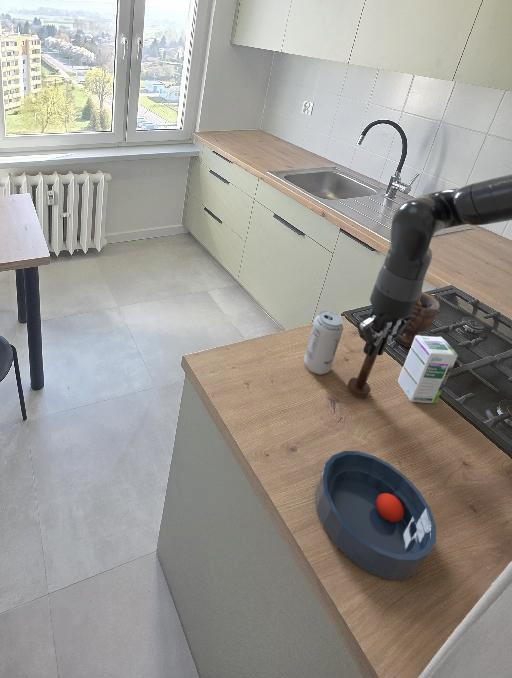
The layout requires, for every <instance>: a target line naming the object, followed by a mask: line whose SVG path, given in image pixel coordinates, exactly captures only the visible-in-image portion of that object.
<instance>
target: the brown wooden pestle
mask: <svg viewBox="0 0 512 678" xmlns="http://www.w3.org/2000/svg"><path fill="white" fill-rule="evenodd" d="M373 337H374V338H375V337H376V336H375V335H374V334H373ZM382 342H383V338H381V340H380V343H379V344H378V345H379V346H378V348H377V351H376V353H375V356H374V357H373V358H370V357H368V356H367V355H366V354H365V358H364V360H363V363H362V365H361V368H360V370H359V373H358V376H357V377H351V378H350V379H349V380H348V382H347V389H348V391H349V392H350V393H351V394H352V395H354V396H355V397H358V398H359V399H366V398H368V397H369V396H370V393H371V387H370V384H368V382H367V381H368V379H369V377H370V374H371V372H372V369H373V366H374V364H375V362H376V359H377V358H378V357H377V356H378V355H377V354H378V352H379V349H380V347H381V344H382Z"/></svg>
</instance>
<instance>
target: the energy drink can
mask: <svg viewBox="0 0 512 678" xmlns="http://www.w3.org/2000/svg"><path fill="white" fill-rule="evenodd" d="M343 330H344V326H343V319H342V318H341V316H340V315H338V314H337V313H335V312H333V311H330V310H329V311H328V310H324V311H321V312H319V314H318V315H317V316H315V318H314V321H313V325H312V328H311V331H310V335H309V338H308V343H307V346H306V350H305V353H304V357H303V363H304V364H305V367H306V368H307V369H308V371H310V372H311V373H313V374H316V375H320V376H321V375H322V376H323V375H325V374H327V373H329V372H330V371H331V369H332V365H333V362H334V359H335V356H336V353H337V350H338V346H339V343H340V341H341V337H342V335H343V332H344V331H343Z"/></svg>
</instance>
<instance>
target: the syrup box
mask: <svg viewBox="0 0 512 678" xmlns="http://www.w3.org/2000/svg"><path fill="white" fill-rule="evenodd" d="M458 357H459V355H458V353H457V352H456V350H454V348H453V347H452V346H451V344H449V343H448V341H447V340H445V339H444V338H443V337H442V336H431V335H430V336H429V335H421V336H418V335H416V336H415V338H414V341H413V343H412V346H411V348H410V347H409V351H408V354H407V356H406V358H405V361H404V364H403V366H402V368H401V371H400V374H399V376H398V380H397V383H398V385H399V388H401V390H402V392H403V393H404V394H405V396H406V397H407V399H408V400H409V401H410V402H411V403H425V404H437V403H438V400H439V398H440V396H441V393H442V392H443V389H444V387H445V385H446V383H447V380H448V378H449V376H450V374H451V372H452V369H453V368H454V365H455V362H456V361H457V359H458Z"/></svg>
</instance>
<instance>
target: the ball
mask: <svg viewBox="0 0 512 678" xmlns="http://www.w3.org/2000/svg"><path fill="white" fill-rule="evenodd" d="M376 508H377V510H378V512H379V514H380V515H381V516H382V517H383V518H384V519H385V520H387V521H389V522H393V523H396V522H399V521H400V520H401V519H402V518H403V514H404V511H403V507H402V504H401V503H400V501H399V500H398V499H397V498H396V497H395V496H393V495H391V494H389V493H382V494H380V495H379V496H378V497H377V499H376Z"/></svg>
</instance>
